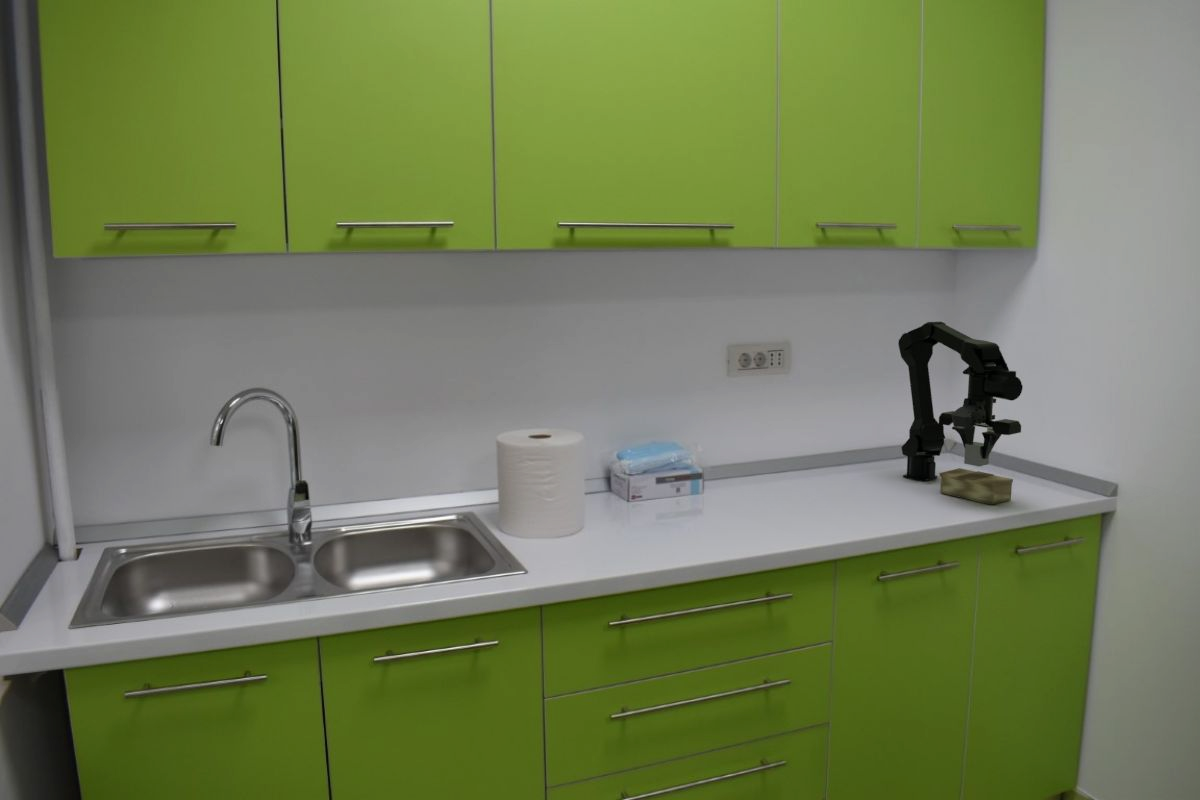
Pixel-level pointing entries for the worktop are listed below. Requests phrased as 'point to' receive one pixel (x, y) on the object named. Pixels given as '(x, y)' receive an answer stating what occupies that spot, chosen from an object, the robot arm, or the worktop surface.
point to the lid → (976, 477)
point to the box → (976, 491)
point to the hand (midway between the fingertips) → (976, 457)
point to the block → (975, 454)
